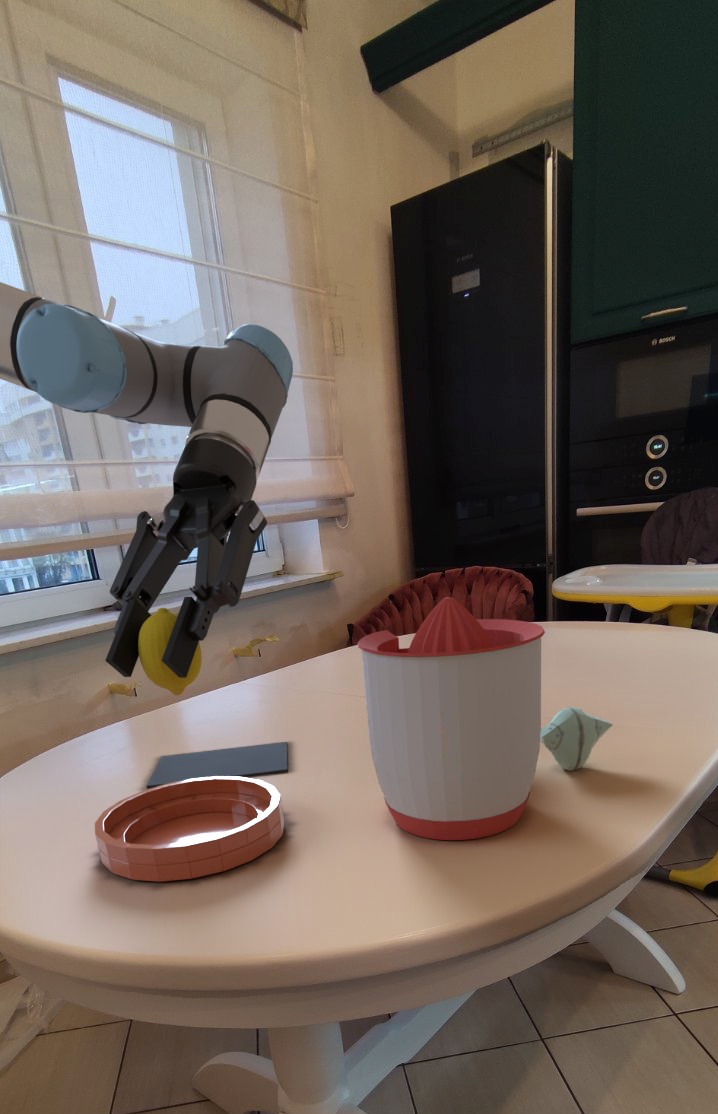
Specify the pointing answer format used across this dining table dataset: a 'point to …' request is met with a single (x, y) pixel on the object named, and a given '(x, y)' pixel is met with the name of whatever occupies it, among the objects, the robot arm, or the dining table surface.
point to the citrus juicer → (455, 721)
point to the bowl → (190, 828)
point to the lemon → (153, 648)
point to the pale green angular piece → (572, 736)
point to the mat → (221, 763)
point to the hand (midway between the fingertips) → (145, 668)
